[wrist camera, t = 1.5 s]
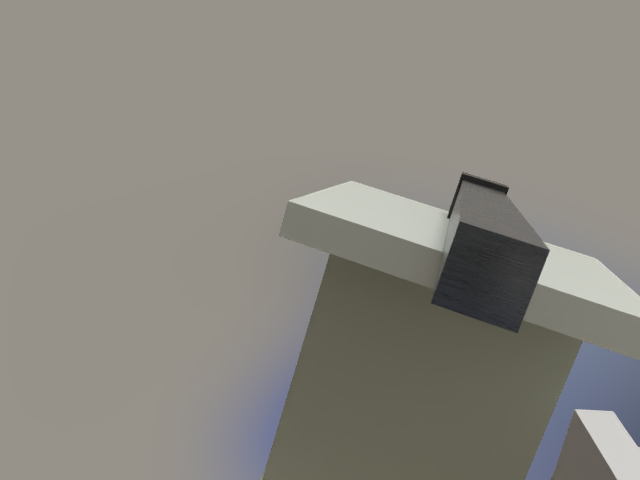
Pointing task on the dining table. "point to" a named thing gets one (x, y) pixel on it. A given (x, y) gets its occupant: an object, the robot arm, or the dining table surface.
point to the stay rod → (488, 256)
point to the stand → (427, 351)
